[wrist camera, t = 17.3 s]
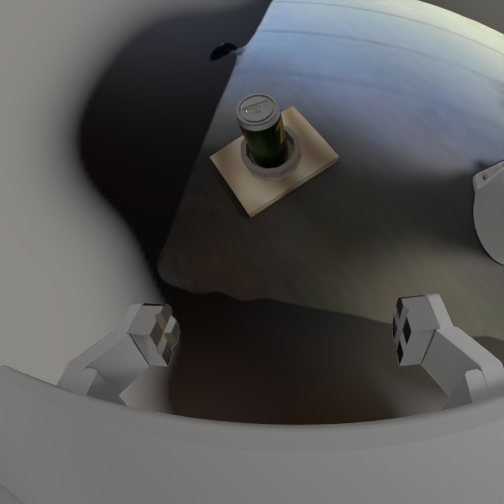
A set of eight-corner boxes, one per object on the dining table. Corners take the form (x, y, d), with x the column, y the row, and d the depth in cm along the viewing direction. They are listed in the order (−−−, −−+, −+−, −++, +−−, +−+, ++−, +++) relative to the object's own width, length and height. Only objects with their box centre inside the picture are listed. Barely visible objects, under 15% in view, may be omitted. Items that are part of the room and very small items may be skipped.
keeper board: (293, 111, 46) (290, 96, 43) (338, 160, 43) (339, 148, 39) (212, 161, 48) (204, 149, 44) (250, 217, 44) (244, 209, 41)
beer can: (257, 174, 44) (237, 131, 32) (251, 144, 45) (231, 98, 34) (292, 166, 43) (283, 120, 31) (285, 137, 44) (274, 87, 33)
